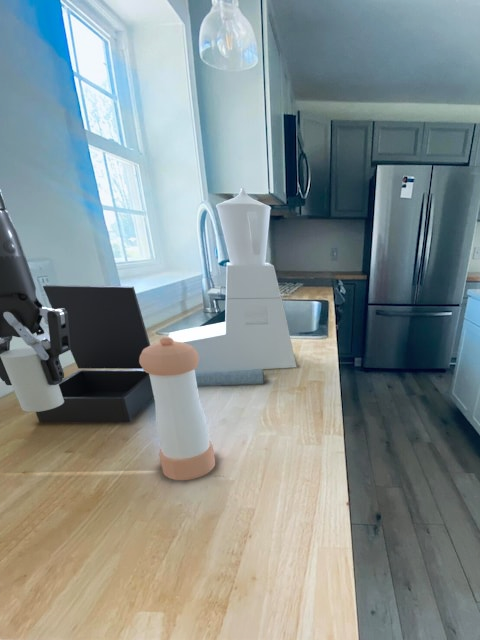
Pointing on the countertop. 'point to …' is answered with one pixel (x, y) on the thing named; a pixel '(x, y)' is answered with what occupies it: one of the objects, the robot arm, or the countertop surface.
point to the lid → (102, 325)
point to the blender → (245, 299)
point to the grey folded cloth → (230, 377)
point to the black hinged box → (101, 396)
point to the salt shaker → (178, 409)
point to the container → (30, 380)
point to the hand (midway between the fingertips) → (35, 382)
